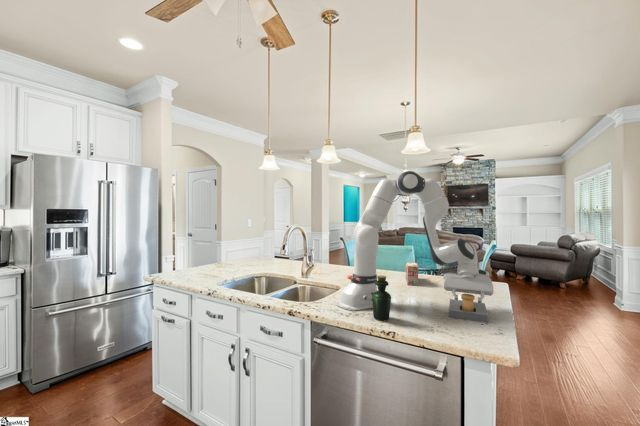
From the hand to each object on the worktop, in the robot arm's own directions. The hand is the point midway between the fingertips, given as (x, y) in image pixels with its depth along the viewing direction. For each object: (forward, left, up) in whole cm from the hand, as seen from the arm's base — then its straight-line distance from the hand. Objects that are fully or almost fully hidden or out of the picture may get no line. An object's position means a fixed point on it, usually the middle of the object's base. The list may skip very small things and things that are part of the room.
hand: (467, 300), depth 134 cm
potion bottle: (-33, +20, -7) cm, 40 cm away
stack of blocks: (+32, +54, -7) cm, 63 cm away
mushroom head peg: (+1, 0, -7) cm, 7 cm away
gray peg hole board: (+4, +2, -7) cm, 8 cm away
